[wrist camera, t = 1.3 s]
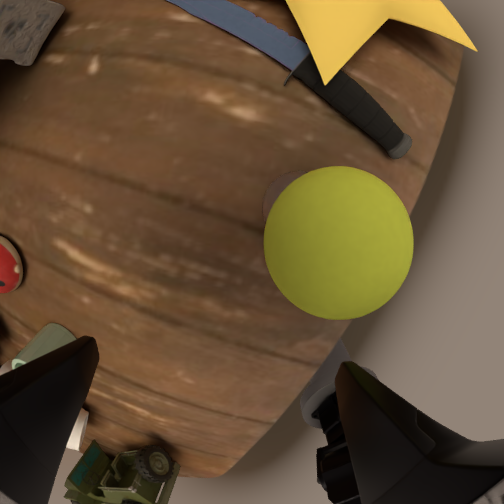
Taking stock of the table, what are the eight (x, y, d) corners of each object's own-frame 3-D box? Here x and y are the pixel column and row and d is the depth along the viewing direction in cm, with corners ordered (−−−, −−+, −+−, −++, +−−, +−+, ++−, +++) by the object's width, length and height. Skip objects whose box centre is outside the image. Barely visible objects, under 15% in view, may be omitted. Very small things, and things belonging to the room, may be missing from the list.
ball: (392, 206, 14) (467, 236, 8) (333, 298, 16) (374, 369, 10) (299, 141, 13) (343, 125, 7) (237, 248, 15) (232, 310, 8)
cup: (86, 341, 24) (55, 383, 17) (80, 372, 25) (55, 412, 19) (45, 313, 23) (9, 348, 16) (43, 346, 24) (14, 381, 18)
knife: (430, 128, 15) (389, 174, 17) (417, 127, 17) (380, 168, 19) (173, -36, 11) (137, 6, 13) (184, -26, 13) (150, 13, 16)
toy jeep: (108, 476, 34) (68, 440, 33) (201, 468, 30) (151, 422, 29) (85, 516, 22) (39, 478, 21) (184, 530, 18) (116, 488, 17)
